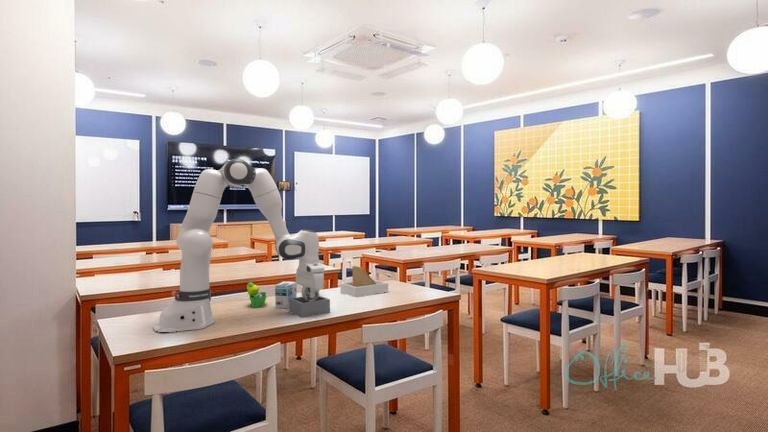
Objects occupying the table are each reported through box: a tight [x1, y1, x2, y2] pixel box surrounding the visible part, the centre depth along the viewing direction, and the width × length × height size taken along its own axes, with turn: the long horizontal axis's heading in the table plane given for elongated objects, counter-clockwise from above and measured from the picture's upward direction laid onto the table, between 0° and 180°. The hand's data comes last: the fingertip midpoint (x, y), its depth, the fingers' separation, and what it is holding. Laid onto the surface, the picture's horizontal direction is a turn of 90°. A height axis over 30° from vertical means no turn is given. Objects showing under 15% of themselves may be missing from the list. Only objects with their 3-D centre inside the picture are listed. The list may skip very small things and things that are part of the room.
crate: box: [288, 294, 331, 319], centre depth 206 cm, size 14×12×6 cm
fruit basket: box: [246, 282, 267, 309], centre depth 219 cm, size 11×9×11 cm
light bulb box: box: [274, 280, 298, 309], centre depth 218 cm, size 11×7×11 cm, turn 168°
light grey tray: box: [340, 278, 389, 298], centre depth 249 cm, size 21×15×5 cm
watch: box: [301, 285, 320, 303], centre depth 206 cm, size 6×8×11 cm
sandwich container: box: [351, 265, 376, 287], centre depth 249 cm, size 9×15×15 cm, turn 129°
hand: (309, 296), depth 206 cm, fingers closed on watch, 3 cm apart
